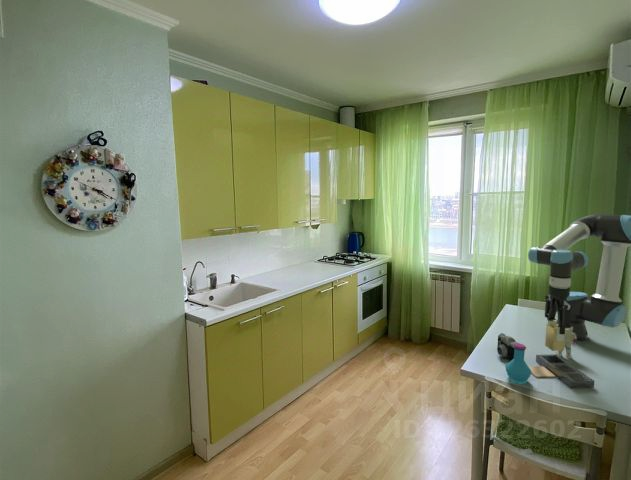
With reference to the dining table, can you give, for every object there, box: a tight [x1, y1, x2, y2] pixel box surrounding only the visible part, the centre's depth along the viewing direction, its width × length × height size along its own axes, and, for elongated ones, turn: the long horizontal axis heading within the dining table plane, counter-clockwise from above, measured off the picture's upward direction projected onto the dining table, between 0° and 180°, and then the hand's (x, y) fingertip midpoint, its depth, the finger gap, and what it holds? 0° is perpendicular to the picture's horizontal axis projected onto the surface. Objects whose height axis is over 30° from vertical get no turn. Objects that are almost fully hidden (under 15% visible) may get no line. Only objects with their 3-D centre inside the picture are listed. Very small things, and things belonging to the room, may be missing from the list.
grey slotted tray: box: [535, 353, 595, 389], centre depth 147 cm, size 9×22×3 cm, turn 0°
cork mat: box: [528, 365, 557, 379], centre depth 148 cm, size 8×8×1 cm
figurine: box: [555, 327, 578, 359], centre depth 160 cm, size 8×8×15 cm
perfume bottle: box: [505, 342, 532, 385], centre depth 142 cm, size 9×9×15 cm
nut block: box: [544, 323, 566, 352], centre depth 152 cm, size 5×5×10 cm
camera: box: [496, 332, 518, 362], centre depth 162 cm, size 15×7×10 cm, turn 2°
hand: (555, 337), depth 152 cm, fingers closed on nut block, 5 cm apart
